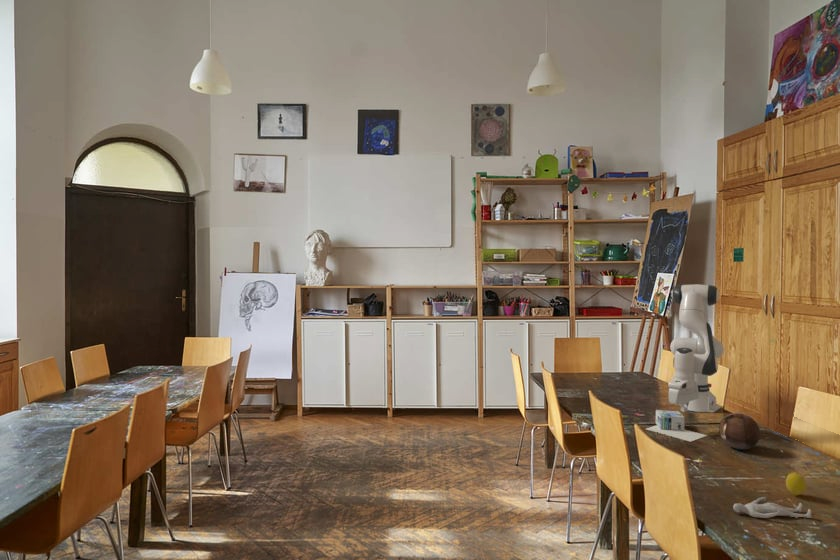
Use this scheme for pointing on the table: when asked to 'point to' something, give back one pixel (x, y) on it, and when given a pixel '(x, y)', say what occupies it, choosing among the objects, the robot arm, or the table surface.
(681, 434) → the mat
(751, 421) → the wooden sphere
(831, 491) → the table surface
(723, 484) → the table surface
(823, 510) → the table surface
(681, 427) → the light bulb box
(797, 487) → the lemon
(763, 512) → the male figure
